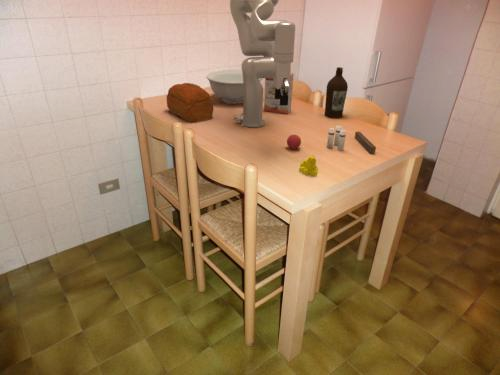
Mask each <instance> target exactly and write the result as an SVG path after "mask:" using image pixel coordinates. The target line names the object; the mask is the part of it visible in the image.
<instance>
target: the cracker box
mask: <svg viewBox="0 0 500 375" xmlns="http://www.w3.org/2000/svg"><path fill="white" fill-rule="evenodd" d="M294 75H295V74H294V73H292V72H291V74H290V87H289V89H288V90H289V92H288V93H289V95H288V105H287V106H280V99H275V86H274V85H273V77H272V78H264V79H265V80H264V82H265V83H264V97H263V100H264V101H263V102H264V103H263V104H264V105H263V111H264V112H270V113H278V114H282V115H289V113H291V110H292V100H293V98H292V97H293V86H294Z"/></svg>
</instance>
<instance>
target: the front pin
mask: <svg viewBox="0 0 500 375" xmlns="http://www.w3.org/2000/svg"><path fill="white" fill-rule="evenodd" d="M335 134H336V128H335V127H329V128H328V135H327V136H328V137H327V142H326V148H327V149H333V145H334V140H335Z"/></svg>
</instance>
